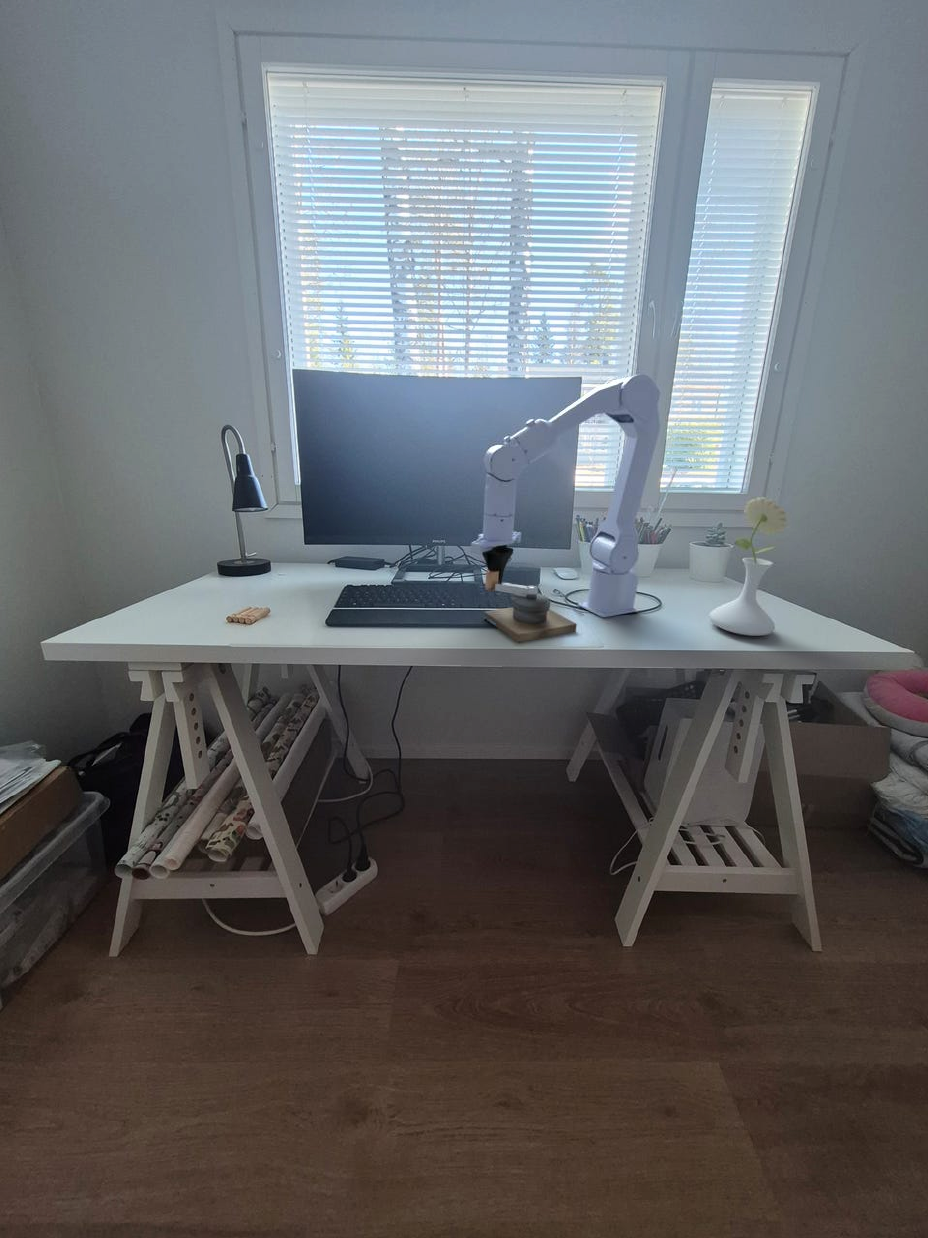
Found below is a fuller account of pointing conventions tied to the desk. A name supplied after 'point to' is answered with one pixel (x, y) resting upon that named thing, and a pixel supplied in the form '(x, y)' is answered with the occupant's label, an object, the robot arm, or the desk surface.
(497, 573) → the hammer
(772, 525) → the flower in vase
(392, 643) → the desk surface
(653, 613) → the desk surface
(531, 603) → the wooden base with cylinder
